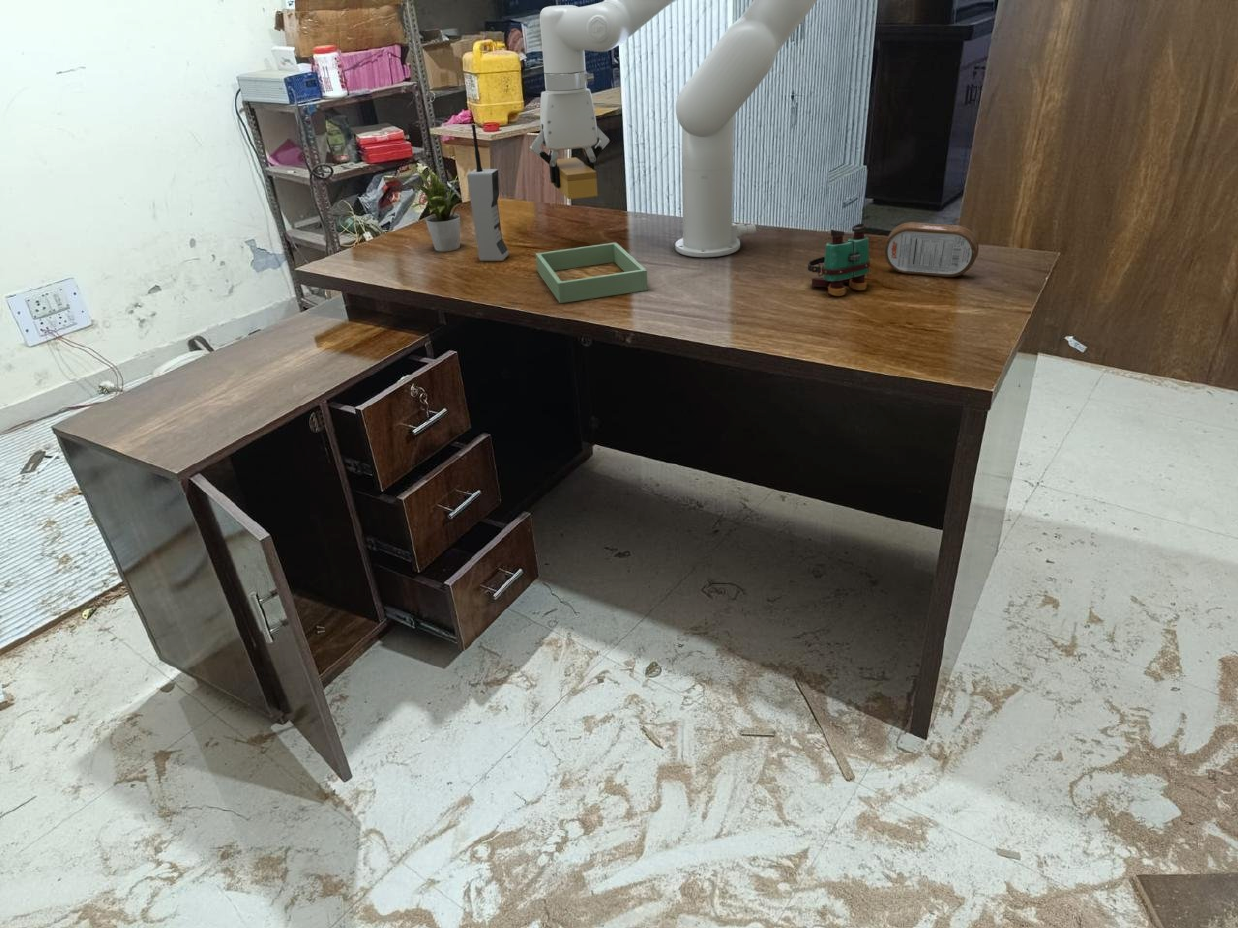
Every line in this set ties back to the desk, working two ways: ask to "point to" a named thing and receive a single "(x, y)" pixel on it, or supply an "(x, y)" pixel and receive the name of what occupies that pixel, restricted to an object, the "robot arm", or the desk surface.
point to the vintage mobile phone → (486, 210)
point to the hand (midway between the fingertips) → (573, 184)
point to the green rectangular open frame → (591, 286)
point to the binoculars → (843, 262)
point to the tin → (931, 249)
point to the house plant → (441, 214)
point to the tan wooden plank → (576, 179)
